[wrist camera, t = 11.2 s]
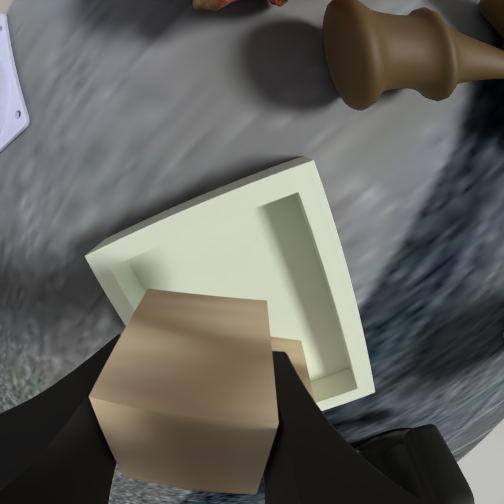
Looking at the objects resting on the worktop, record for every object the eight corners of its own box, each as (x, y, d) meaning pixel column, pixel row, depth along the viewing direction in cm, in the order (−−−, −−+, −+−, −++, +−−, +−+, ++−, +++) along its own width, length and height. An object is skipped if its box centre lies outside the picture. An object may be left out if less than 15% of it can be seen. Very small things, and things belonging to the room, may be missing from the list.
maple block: (155, 373, 11) (124, 476, 7) (147, 288, 10) (88, 396, 5) (254, 384, 12) (256, 494, 7) (266, 300, 10) (279, 423, 5)
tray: (105, 238, 15) (84, 256, 13) (302, 155, 14) (313, 160, 12) (213, 410, 20) (210, 436, 18) (364, 366, 19) (375, 392, 16)
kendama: (297, -13, 11) (538, 27, 9) (335, 157, 15) (558, 144, 13) (316, -72, 6) (590, 23, 4) (379, 176, 9) (611, 160, 7)
